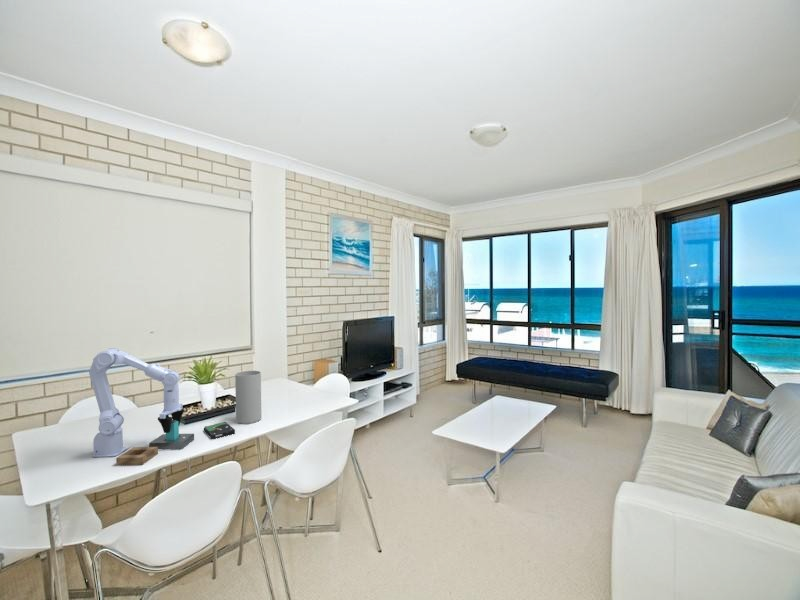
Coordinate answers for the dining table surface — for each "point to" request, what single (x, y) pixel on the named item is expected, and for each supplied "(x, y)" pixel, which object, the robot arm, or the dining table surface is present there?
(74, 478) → the dining table surface
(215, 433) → the disk drive
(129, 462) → the tan square ring
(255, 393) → the cylinder vase
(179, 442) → the port block
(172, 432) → the plug
